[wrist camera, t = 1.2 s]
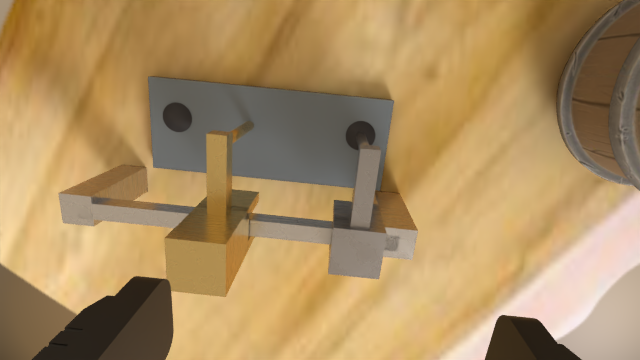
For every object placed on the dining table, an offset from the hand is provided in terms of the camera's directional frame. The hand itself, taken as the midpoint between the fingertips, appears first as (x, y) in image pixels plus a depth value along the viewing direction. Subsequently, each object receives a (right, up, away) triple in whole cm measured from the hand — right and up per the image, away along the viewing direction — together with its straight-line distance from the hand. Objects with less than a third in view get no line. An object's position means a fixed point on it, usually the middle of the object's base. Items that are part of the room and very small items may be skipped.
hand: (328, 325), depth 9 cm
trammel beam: (-7, +6, +32) cm, 33 cm away
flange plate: (-6, +9, +31) cm, 33 cm away
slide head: (-8, +5, +31) cm, 32 cm away
